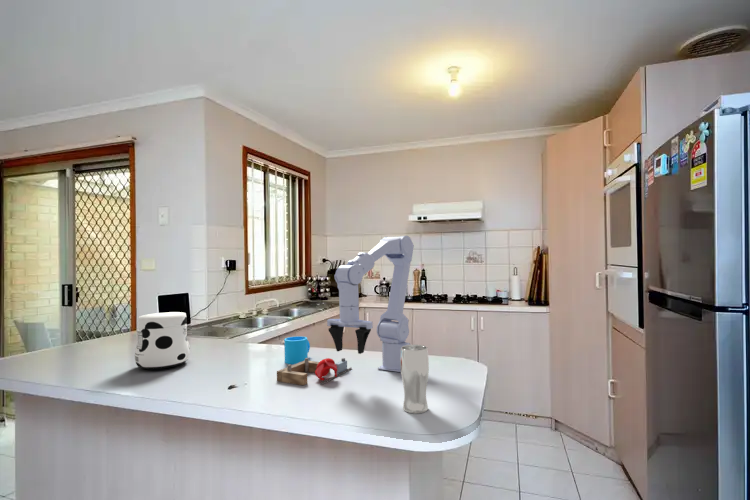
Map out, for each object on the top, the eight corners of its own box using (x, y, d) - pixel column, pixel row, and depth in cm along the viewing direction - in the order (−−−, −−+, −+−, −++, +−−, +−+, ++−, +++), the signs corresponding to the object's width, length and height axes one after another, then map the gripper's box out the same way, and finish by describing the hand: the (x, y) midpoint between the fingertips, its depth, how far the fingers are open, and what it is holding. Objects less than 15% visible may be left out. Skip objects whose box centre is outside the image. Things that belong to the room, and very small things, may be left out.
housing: (351, 369, 134) (351, 355, 134) (315, 387, 117) (315, 371, 117) (315, 364, 141) (315, 351, 141) (276, 381, 123) (276, 366, 123)
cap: (342, 366, 122) (337, 353, 127) (324, 364, 119) (319, 351, 124) (332, 387, 124) (327, 374, 129) (314, 385, 121) (310, 372, 126)
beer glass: (399, 404, 102) (398, 344, 102) (426, 403, 103) (425, 343, 103) (403, 415, 95) (402, 351, 96) (432, 413, 96) (431, 350, 96)
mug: (298, 365, 141) (297, 341, 141) (279, 362, 145) (279, 340, 145) (318, 357, 152) (317, 335, 152) (300, 355, 155) (300, 333, 155)
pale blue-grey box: (347, 369, 133) (347, 358, 133) (339, 373, 129) (338, 361, 129) (343, 369, 134) (342, 357, 134) (334, 373, 130) (334, 361, 130)
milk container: (199, 359, 152) (198, 311, 152) (171, 373, 134) (170, 318, 135) (155, 359, 153) (155, 311, 153) (122, 372, 136) (122, 319, 136)
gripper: (320, 306, 119) (321, 352, 119) (363, 308, 113) (364, 357, 113) (334, 303, 126) (335, 347, 126) (375, 305, 119) (376, 351, 119)
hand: (350, 351), depth 120 cm, fingers open, 7 cm apart
